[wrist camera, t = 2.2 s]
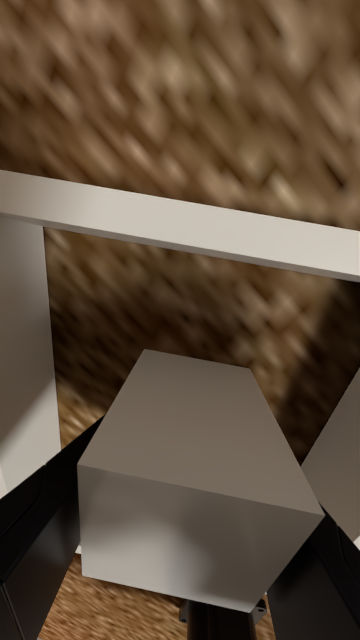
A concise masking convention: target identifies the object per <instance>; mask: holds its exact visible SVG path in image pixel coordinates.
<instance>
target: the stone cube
mask: <svg viewBox="0 0 360 640" xmlns="http://www.w3.org/2000/svg"><path fill="white" fill-rule="evenodd" d="M77 475H78V496H79V517H80V538H81V559H82V576H87V577H91V578H96V579H100V580H105V581H109V582H114V583H118V584H123V585H127V586H132V587H136V588H141V589H145V590H150V591H154V592H159V593H163V594H168V595H172V596H177V597H181V598H185V599H190V600H194V601H199V602H203V603H208V604H212V605H217V606H221V607H226V608H230V609H235V610H239V611H244V612H248V613H250V612H251V611H252V609H253V608H254V607H255V605H256V604H257V603H258V602H259V600H260V599H261V598H262V596H263V595H264V594H265V593H266V591H267V590H268V589H269V587H270V586H271V585H272V584H273V582H274V581H275V580H276V578H277V577H278V576H279V575H280V573H281V572H282V571H283V569H284V568H285V567H286V565H287V564H288V563H289V562H290V560H291V559H292V558H293V556H294V555H295V554H296V553H297V551H298V550H299V549H300V547H301V546H302V545H303V544H304V542H305V541H306V540H307V538H308V537H309V536H310V535H311V533H312V532H313V531H314V529H315V528H316V527H317V526H318V524H319V523H320V522H321V520H322V519H323V518H324V516H325V514H324V512H323V510H322V508H321V506H320V504H319V503H318V501H317V499H316V497H315V495H314V493H313V491H312V489H311V487H310V485H309V483H308V481H307V479H306V477H305V475H304V473H303V471H302V469H301V468H300V466H299V464H298V462H297V460H296V458H295V456H294V454H293V452H292V450H291V448H290V446H289V444H288V442H287V440H286V438H285V436H284V435H283V433H282V431H281V429H280V427H279V425H278V423H277V421H276V419H275V417H274V415H273V413H272V411H271V409H270V407H269V405H268V403H267V401H266V400H265V398H264V396H263V394H262V392H261V390H260V388H259V386H258V384H257V382H256V380H255V378H254V376H253V374H252V372H251V370H250V368H244V367H239V366H233V365H228V364H223V363H217V362H212V361H207V360H201V359H196V358H191V357H185V356H180V355H175V354H169V353H164V352H159V351H153V350H148V349H144V350H143V352H142V354H141V355H140V357H139V359H138V360H137V362H136V364H135V366H134V367H133V369H132V371H131V372H130V374H129V376H128V378H127V379H126V381H125V383H124V384H123V386H122V388H121V390H120V391H119V393H118V395H117V396H116V398H115V400H114V402H113V403H112V405H111V407H110V409H109V410H108V412H107V414H106V415H105V417H104V419H103V421H102V422H101V424H100V426H99V427H98V429H97V431H96V433H95V434H94V436H93V438H92V439H91V441H90V443H89V445H88V446H87V448H86V450H85V451H84V453H83V455H82V457H81V458H80V460H79V462H78V463H77Z"/></svg>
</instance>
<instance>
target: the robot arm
mask: <svg viewBox="0 0 360 640" xmlns="http://www.w3.org/2000/svg"><path fill="white" fill-rule="evenodd" d="M106 414H107V413H106ZM106 414H105V415H106ZM105 415H104V416H102V417H101V418H100V419H99V420H98V421H96V422H95V423H94V424H93V425H91V426H90V427H89V428H88V429H87V430H85V431H84V432H83V433H82V434H80V435H79V436H78V437H77V438H76V439H74V440H73V441H72V442H71V443H69V444H68V445H67V446H66V447H65V448H63V449H62V450H61V451H60V452H59V453H57V454H56V455H55V456H54V457H52V458H51V459H50V460H49V461H48V462H46V464H45V465H42V466H41V467H40V468H39V469H38V470H36V471H35V472H34V473H33V474H32V475H30V476H29V477H28V478H26V479H25V480H24V481H23V482H21V483H20V484H19V485H18V486H16V487H15V488H14V489H13V490H11V491H10V492H9V493H7V494H6V495H5V496H3V497H2V498H1V499H0V640H37V638H38V635H39V633H40V631H41V629H42V626H43V624H44V622H45V620H46V617H47V615H48V613H49V611H50V608H51V606H52V604H53V602H54V599H55V597H56V595H57V593H58V590H59V588H60V586H61V584H62V581H63V579H64V577H65V575H66V572H67V570H68V568H69V566H70V563H71V561H72V559H73V557H74V554H75V552H76V550H77V548H78V545H79V543H80V541H81V538H80V517H79V496H78V475H77V463H78V462H79V460H80V458H81V457H82V455H83V453H84V451H85V450H86V448H87V446H88V445H89V443H90V441H91V439H92V438H93V436H94V434H95V433H96V431H97V429H98V427H99V426H100V424H101V422H102V421H103V419H104V417H105ZM317 501H318V500H317ZM318 503H319V504H320V502H319V501H318ZM320 506H321V508H322V510H323V512H324V514H325V516H324V518H323V519H322V520H321V522H320V523H319V524H318V526H317V527H316V528H315V529H314V531H313V532H312V533H311V535H310V536H309V537H308V538H307V540H306V541H305V542H304V544H303V545H302V546H301V547H300V549H299V550H298V551H297V553H296V554H295V555H294V556H293V558H292V559H291V560H290V562H289V563H288V564H287V565H286V567H285V568H284V569H283V571H282V572H281V573H280V575H279V576H278V577H277V578H276V580H275V581H274V582H273V584H272V585H271V586H270V587H269V589H268V590H267V591H266V593H267V598H268V603H269V608H270V613H271V617H272V622H273V627H274V632H275V637H276V640H360V550H359V549H358V547H357V546H356V545H355V544H354V543H353V542H352V540H351V539H350V538H349V537H348V536H347V535H346V533H345V532H344V531H343V530H342V529H341V527H340V526H338V525H337V523H336V522H335V520H334V519H333V518H332V517H331V516H330V514H329V513H328V512H327V511H326V510H325V508H324V507H323V506H322V505H321V504H320ZM266 612H267V608H266V603H265V601H264V600H262V599H260V600H259V602H258V603H257V604H256V605H255V607H254V608H253V609H252V611H251V612H250V613H248V612H244V611H239V610H235V609H230V608H226V607H221V606H217V605H212V604H208V603H203V602H199V601H194V600H190V599H184V601H183V603H182V606H181V608H180V610H179V621H180V622H183V623H187V624H188V625H187V640H257V636H256V630H255V625H256V624H257V623H258V622H259V620H260V619H261V618H262V617H263V616H264V615H265V613H266Z"/></svg>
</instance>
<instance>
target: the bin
mask: <svg viewBox="0 0 360 640" xmlns="http://www.w3.org/2000/svg"><path fill="white" fill-rule="evenodd" d="M43 227H49V228H54V229H60V230H66V231H71V232H77V233H83V234H88V235H94V236H100V237H105V238H111V239H116V240H122V241H128V242H133V243H139V244H145V245H150V246H156V247H161V248H167V249H173V250H178V251H184V252H190V253H195V254H201V255H206V256H212V257H218V258H223V259H229V260H235V261H240V262H246V263H252V264H257V265H263V266H268V267H274V268H280V269H285V270H291V271H297V272H302V273H308V274H313V275H319V276H325V277H330V278H336V279H342V280H347V281H353V282H358V283H360V231H354V230H349V229H343V228H337V227H331V226H325V225H320V224H314V223H308V222H302V221H296V220H290V219H285V218H279V217H273V216H267V215H261V214H255V213H250V212H244V211H238V210H232V209H226V208H220V207H215V206H209V205H203V204H197V203H191V202H185V201H180V200H174V199H168V198H162V197H156V196H151V195H145V194H139V193H133V192H127V191H121V190H116V189H110V188H104V187H98V186H92V185H86V184H81V183H75V182H69V181H63V180H57V179H51V178H46V177H40V176H34V175H28V174H22V173H16V172H11V171H5V170H0V499H1V498H2V497H3V496H5V495H6V494H7V493H9V492H10V491H11V490H13V489H14V488H15V487H16V486H18V485H19V484H20V483H21V482H23V481H24V480H25V479H26V478H28V477H29V476H30V475H32V474H33V473H34V472H35V471H36V470H38V469H39V468H40V467H41V466H42V465H45V464H46V462H48V461H49V460H50V459H51V458H52V457H54V456H55V455H56V454H57V453H59V452H60V451H61V445H60V432H59V420H58V408H57V396H56V383H55V371H54V359H53V347H52V334H51V322H50V310H49V298H48V285H47V273H46V261H45V249H44V236H43ZM300 468H301V469H302V471H303V473H304V475H305V477H306V479H307V481H308V483H309V485H310V487H311V489H312V491H313V493H314V495H315V497H316V499H317V500H318V501H319V502H320V504H321V505H322V506H323V507H324V508H325V510H326V511H327V512H328V513H329V514H330V516H331V517H332V518H333V519H334V520H335V522H336V523H337V525H338V526H340V527H341V529H342V530H343V531H344V532H345V533H346V535H347V536H348V537H349V538H350V539H351V540H352V542H353V543H354V544H355V545H356V546H357V547H358V549H359V550H360V368H359V370H358V371H357V373H356V375H355V376H354V378H353V380H352V381H351V383H350V385H349V386H348V388H347V390H346V391H345V393H344V395H343V396H342V398H341V400H340V401H339V403H338V405H337V406H336V408H335V410H334V411H333V413H332V415H331V416H330V418H329V420H328V422H327V423H326V425H325V427H324V428H323V430H322V432H321V433H320V435H319V437H318V438H317V440H316V442H315V443H314V445H313V447H312V448H311V450H310V452H309V453H308V455H307V457H306V458H305V460H304V462H303V463H302V465H301V467H300ZM75 553H79V554H81V541H80V543H79V545H78V548H77V550H76V552H75ZM265 594H267V593H265Z"/></svg>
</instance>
